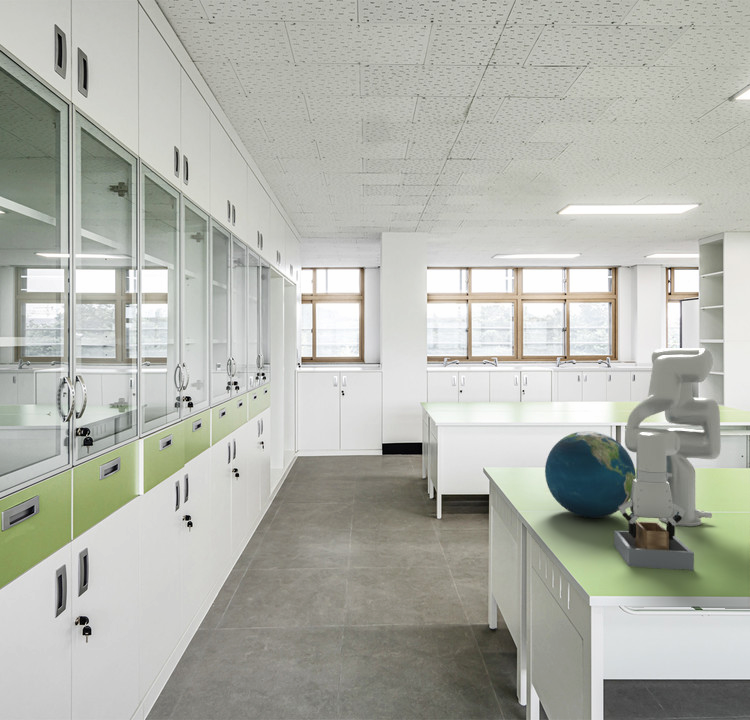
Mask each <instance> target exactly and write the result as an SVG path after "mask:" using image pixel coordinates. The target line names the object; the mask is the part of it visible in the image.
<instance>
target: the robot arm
mask: <svg viewBox="0 0 750 720" xmlns="http://www.w3.org/2000/svg"><path fill="white" fill-rule="evenodd" d="M713 360H714V359H713V354H712V353H711V351H710V349H707V348H700V347H699V348H698V347H696V348H695V347H692V348H691V347H689V348H686V347H685V348H683V347H681V348H679V347H678V348H677V347H676V348H675V347H673V348H660V349H655V350H654V351H653V352H652V353H651V364H652V368H651V375H650V381H649V387H648V394H647V397H646V398H644V399H643V400H642V401H640V402H639V403H638V404H637V405H636V406H635V407H634V408H633V410H632V411H631V412H630V414H629V416H628V418H627V423H626V428H625V434H624V444H625V447H626V449H627V450H628V451H630V452H632V453H636V461H635V462H636V469H635V473H636V479H634V480H633V483H632V489H631V498H630V499H629V501H628V502H626V503H624V504H622V505H619V506H618V508H619V510H618V511H619V512H620V514H621V516H622V517H623V518H625V520H627V521H628V531H629V534H631V536H632V537H633V538H636V524H635V521H638V519H640V518H643V519H644V518H647V519H659V520H660V521H661V522H662V523H663V522H664V523H666V529H665V530H666V531H668V532H669V539H670V540H673V536H676V531H675V530H676V526H679V527H680V526H682V527H696V526H699V525H702V518H706V519H711V518H712V517H713V514H712V512H711V511H705V510H699V509H697V508H696V501H697V500H696V498H697V497H696V477H697V476H696V469H695V466H693V464H692V463H691V462H690V460H688V458H689V459H701V460H716V459H718V457H719V456H720V455H721V446H722V445H721V416H720V415H721V412H720V405H718V402H717V401H716V400H715V399H713V398H708V397H694V394H693V391H694V389H693V387H694V386H693V383H694V384H695V383H697V384H698V383H702V382H704V381H706V379H707V377H708V375H709V374H710V372H711V371H712V367H713V363H714V361H713ZM662 412H664V417H665V418H664V419H665V420H666V422H667V423H668V424H671V425H675V426H676V425H677V426H684V427H686V426H687V427H689V426H690V427H700V428H702V429H691V428H678V427H677V428H676V427H673V428H668V429H663V428H662V429H661V428H656V427H655V428H651V427H640V425H641V424H642V422H643V421H644V420H646V419H647V418H649V417H651V416H654V415H656V414H659V413H662ZM627 509H629V510H630V514H628V512H627V511H626V510H627Z"/></svg>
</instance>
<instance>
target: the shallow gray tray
mask: <svg viewBox="0 0 750 720" xmlns="http://www.w3.org/2000/svg"><path fill="white" fill-rule="evenodd" d="M613 546H614V548H615V549H616V550H617V552H618V554H619V555H620V557H622V560H624V562H625V563H626V565H627V566H628V567H630V566H635V567H634V568H646V567H649V569H651V568H652V569H662V568H665V569H666V570H678V569H686V570H685V571H695V552H694V551H692V550H691V549H690V548H689V547H688V546H687V545H686V544H684V542H682V541H681V539H679V538H678V536H676V535H675V536H673V540H670V539H669V550H655V549H637V548H635V538H633V537H632V536H631V534H629V530H613ZM687 569H689V570H687Z"/></svg>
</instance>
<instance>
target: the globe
mask: <svg viewBox="0 0 750 720" xmlns="http://www.w3.org/2000/svg"><path fill="white" fill-rule="evenodd" d="M630 455H631V454H630V453H629V452H628V451H627V450H626V449H625V447H624V446H623V445H622V444H621V443H620V442H618V441H617V440H616V439H614V438H613V437H611V436H609V435H607V434H604V433H601V432H598V431H591V430H586V431H585V430H584V431H583V430H582V431H577V432H574V433H573V432H572V433H571V434H568V435H566V436H564V437H563V438H561V439H560V440H558V441H557V442H556V443H555V445H553V447H552V448H551V450H550V451H549V453H548V455H547V458H546V462H545V466H544V467H545V468H544V476H545V482H546V485H547V488H548V490H549V492H550V494H551V495H552V497H553V498H554V500H555V501H556V502H557V503H558V504H559V505H560V506H561V507H562V508H564V509H565V510H567V511H569V512H570V513H572V514H574V515H576V516H580V517H583V518H590V519H591V518H592V519H597V518H605V517H608V516H610V515H614V514H615V513H617V512H618V511H620V510H619V508H618V506H619V505H622V504H624V503H626V502H628V501H630V498H631V489H632V483H633V480H634V479H636V469H635V468H636V467H635V465H634V462H633V459H632V457H631V456H630Z"/></svg>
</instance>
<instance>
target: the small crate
mask: <svg viewBox="0 0 750 720" xmlns="http://www.w3.org/2000/svg"><path fill="white" fill-rule="evenodd" d="M635 524H636V538H635V548H637V549H655V550H669V532H668V531H666V529H665V528H664V526H662V525H661V524H660V523H659V522H656V521H655V522H653V521H638V520H636V521H635Z"/></svg>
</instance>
